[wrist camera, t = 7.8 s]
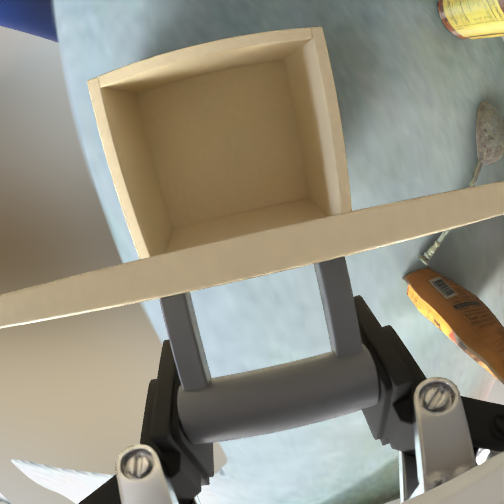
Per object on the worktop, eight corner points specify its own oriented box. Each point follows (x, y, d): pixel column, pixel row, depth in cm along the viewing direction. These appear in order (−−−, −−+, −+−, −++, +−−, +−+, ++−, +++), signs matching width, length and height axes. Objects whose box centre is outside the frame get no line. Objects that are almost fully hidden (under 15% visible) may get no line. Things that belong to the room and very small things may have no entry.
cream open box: (128, 88, 24) (86, 80, 15) (289, 51, 24) (322, 26, 15) (169, 234, 30) (150, 287, 22) (316, 201, 30) (354, 241, 22)
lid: (-27, 302, 6) (29, 471, 5) (518, 177, 6) (541, 358, 5) (148, 285, 21) (165, 355, 21) (355, 238, 21) (370, 308, 21)
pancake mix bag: (414, 241, 33) (588, 417, 8) (484, 292, 39) (596, 413, 13) (383, 288, 36) (518, 486, 10) (460, 326, 41) (558, 456, 16)
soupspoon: (503, 123, 28) (474, 91, 27) (520, 125, 25) (492, 91, 24) (434, 268, 35) (400, 248, 34) (449, 280, 32) (414, 260, 31)
